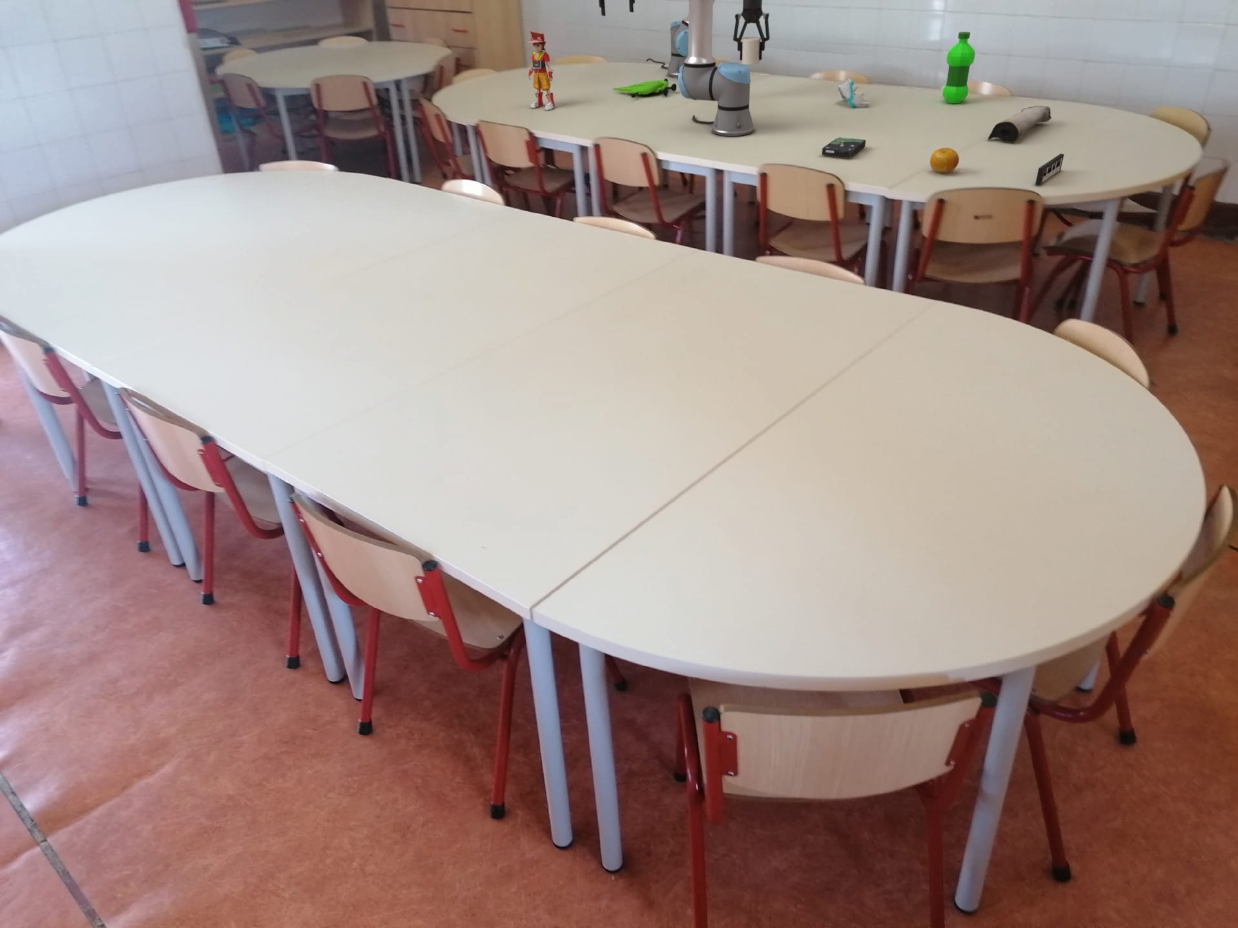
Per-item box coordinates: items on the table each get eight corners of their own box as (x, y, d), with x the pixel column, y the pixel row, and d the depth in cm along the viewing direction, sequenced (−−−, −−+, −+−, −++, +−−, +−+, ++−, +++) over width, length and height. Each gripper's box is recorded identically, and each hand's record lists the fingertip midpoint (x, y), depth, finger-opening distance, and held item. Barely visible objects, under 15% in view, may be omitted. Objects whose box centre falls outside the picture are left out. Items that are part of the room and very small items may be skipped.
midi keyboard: (1039, 185, 269) (1043, 168, 266) (1035, 184, 270) (1038, 168, 267) (1060, 170, 279) (1064, 154, 277) (1056, 169, 280) (1060, 153, 277)
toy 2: (686, 85, 398) (631, 84, 414) (685, 72, 395) (629, 72, 411) (651, 104, 381) (596, 103, 397) (650, 92, 378) (594, 91, 394)
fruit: (924, 163, 281) (941, 140, 278) (925, 165, 289) (941, 143, 286) (946, 178, 280) (963, 155, 277) (947, 180, 288) (963, 158, 285)
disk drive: (850, 159, 300) (865, 147, 310) (851, 151, 299) (866, 139, 309) (821, 156, 305) (836, 144, 315) (821, 148, 303) (837, 136, 313)
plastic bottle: (973, 101, 354) (984, 32, 339) (955, 106, 349) (966, 36, 335) (952, 97, 361) (962, 29, 346) (934, 102, 356) (944, 33, 342)
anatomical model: (833, 78, 362) (858, 71, 361) (836, 104, 368) (860, 97, 367) (844, 86, 350) (869, 79, 349) (846, 113, 356) (871, 106, 355)
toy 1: (525, 109, 381) (517, 32, 364) (534, 104, 388) (527, 28, 371) (550, 110, 377) (543, 32, 360) (559, 105, 384) (553, 28, 367)
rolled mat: (1018, 110, 327) (1042, 93, 319) (1032, 131, 328) (1056, 115, 319) (983, 133, 310) (1008, 115, 302) (998, 155, 310) (1023, 138, 302)
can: (750, 60, 374) (751, 36, 368) (763, 62, 369) (764, 38, 363) (738, 63, 370) (738, 39, 365) (750, 65, 365) (751, 41, 360)
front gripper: (779, -5, 356) (776, 57, 369) (728, -4, 361) (727, 58, 374) (777, -2, 350) (774, 61, 363) (726, -1, 355) (725, 61, 368)
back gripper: (591, -38, 375) (594, 18, 387) (645, -44, 383) (646, 11, 395) (584, -39, 381) (588, 16, 393) (637, -45, 388) (639, 9, 401)
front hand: (750, 59), depth 368 cm, fingers closed on can, 7 cm apart
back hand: (617, 14), depth 394 cm, fingers open, 13 cm apart
